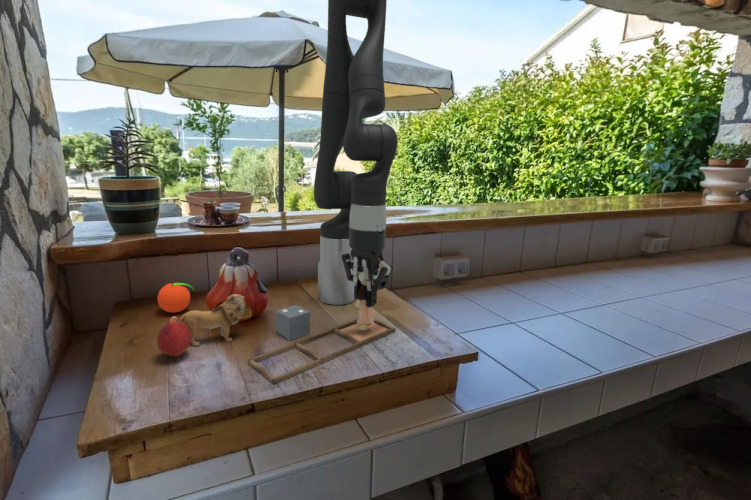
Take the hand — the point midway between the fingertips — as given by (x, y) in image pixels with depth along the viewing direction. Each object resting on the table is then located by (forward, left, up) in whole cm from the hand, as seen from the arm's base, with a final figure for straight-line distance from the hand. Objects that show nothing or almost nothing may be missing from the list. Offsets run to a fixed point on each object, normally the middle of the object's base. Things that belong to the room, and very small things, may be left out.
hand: (365, 303), depth 88 cm
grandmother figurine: (0, 0, -5) cm, 5 cm away
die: (-10, -12, -7) cm, 17 cm away
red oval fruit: (-16, -34, -7) cm, 38 cm away
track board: (0, -10, -7) cm, 12 cm away
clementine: (-37, -26, -7) cm, 45 cm away
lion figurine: (-18, -26, -7) cm, 32 cm away
